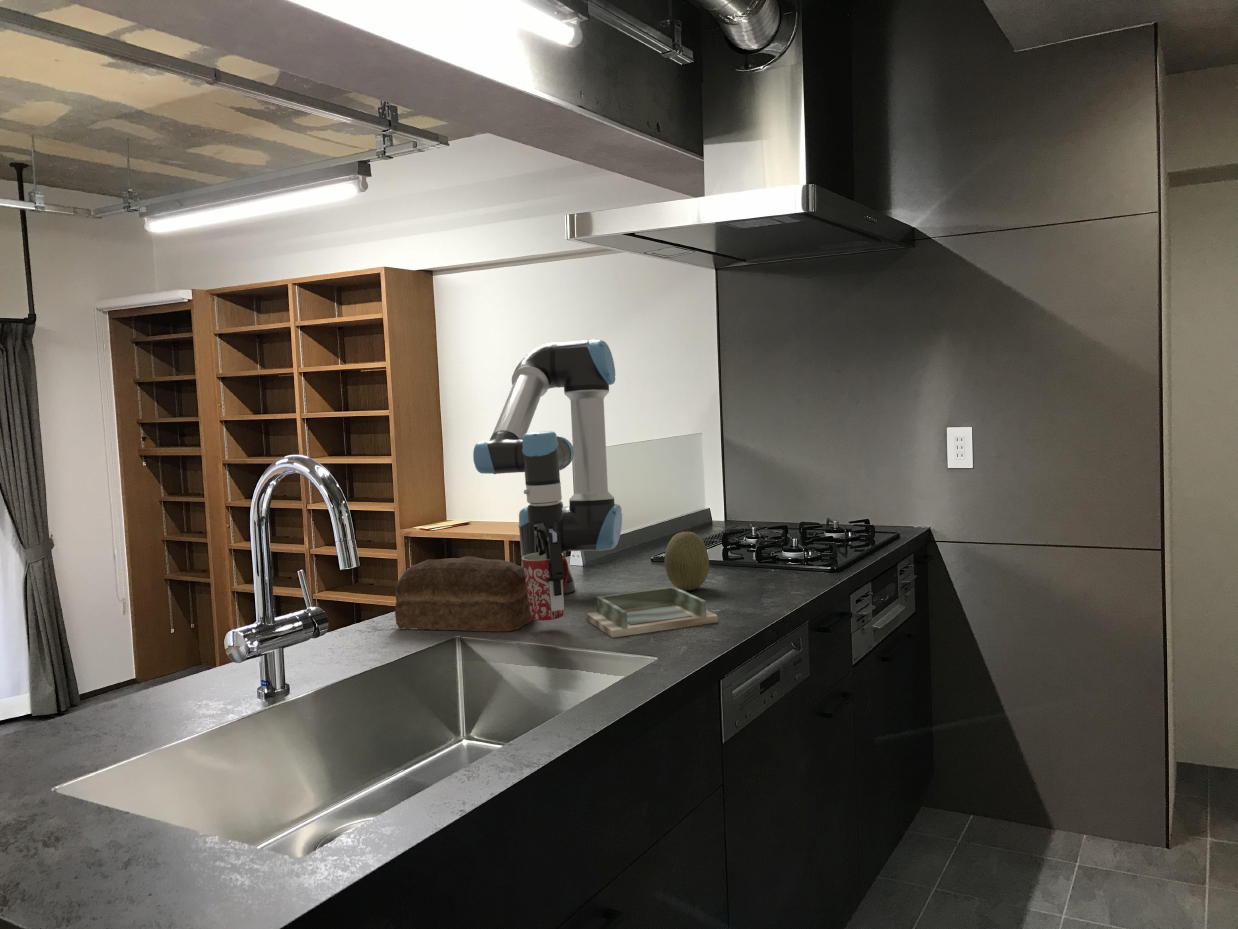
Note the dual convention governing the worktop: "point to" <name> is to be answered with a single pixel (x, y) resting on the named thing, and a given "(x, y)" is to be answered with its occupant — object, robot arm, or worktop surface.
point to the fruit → (686, 561)
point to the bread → (462, 595)
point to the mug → (541, 586)
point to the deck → (649, 612)
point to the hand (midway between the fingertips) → (552, 605)
